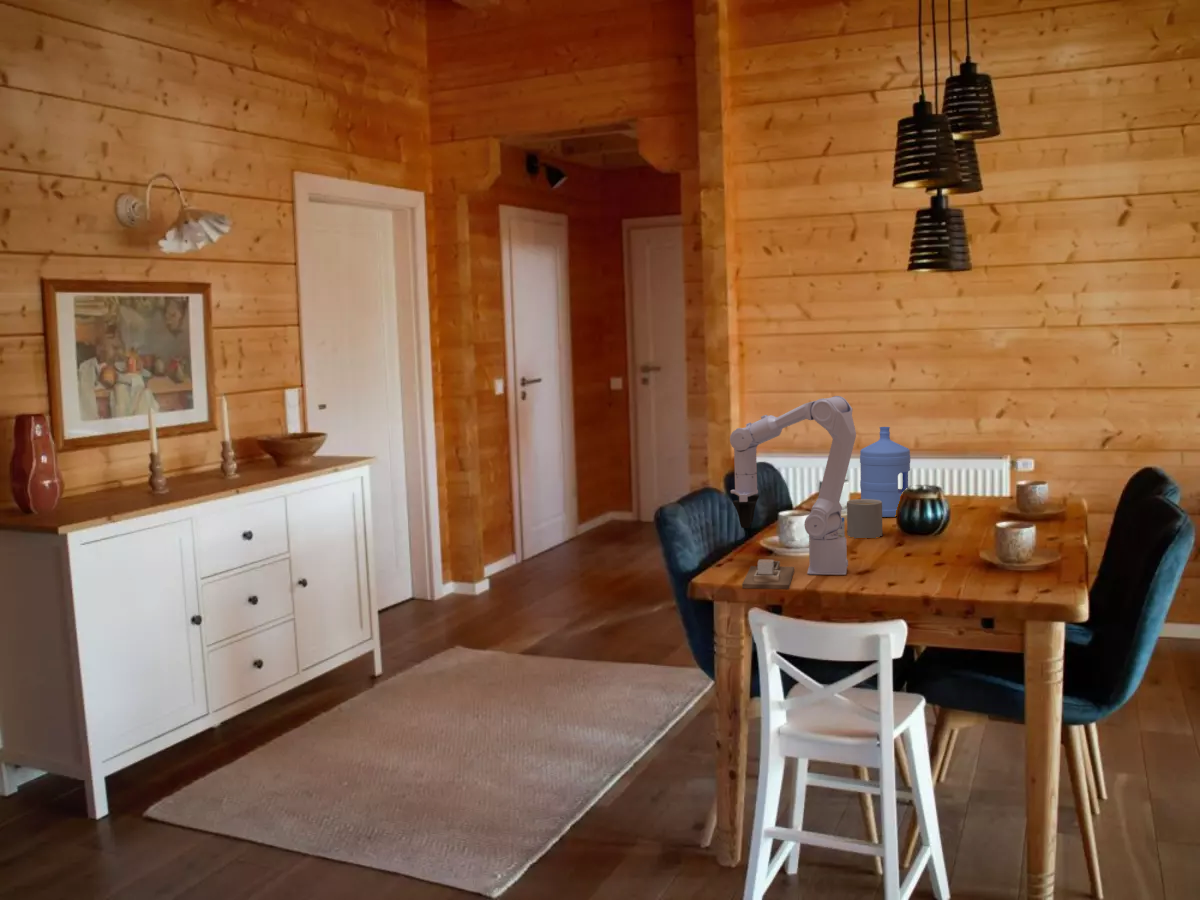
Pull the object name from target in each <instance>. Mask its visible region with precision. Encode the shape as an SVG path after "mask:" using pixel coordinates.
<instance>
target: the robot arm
mask: <svg viewBox="0 0 1200 900" xmlns="http://www.w3.org/2000/svg"><path fill="white" fill-rule="evenodd" d="M853 418H854V417H853V407H852V406H851V405H850V403H849V402H848V400H847V399H846V398H845V397H843V396H840V395H834V396H832V397H828V398H827V397H826V398H824V397H823V398H818V399H817V400H813V401H809V402H805V403H803V404H801V405H800V406H797V407H795V408H793V409H791V410H789V411H787V412H786V413H784V414H781V415H779V416H775V415H771V414H770V415H768V414H765V415H762V416H760V419H759V420H757V421H754V422H748V423H746V424H745V427H737V428H736V429H735V430H733V431H732V432H731V434H730V437H729V442H730V445H731V447H732V448H733V452H734V453H733V454H734V456H733V460H734V461H733V462H734V489H731V490H730V494H734V495H736V496H737V499H736V500H735V499H734V500H733V501H732V502H733V506H734V508H735V509H736V512H737V516H738V519H739V524H740V528H741V529H749V528H750V526H751V524H752V523H753V522H754V521H753V520H754V516H755V511H756V505H757V503H758V500H759V498H760V495H759V490H758V476H757V475H758V469H757V448H758V447H759V445H761V444H764V443H765V442H766V443H767V442H768V441H771V440H773V439H775V438H777V437H780V435H781V434H782V430H783V429H785V428H787V427H790V426H792V425H794V424H797V423H800V422H802V421H805V420H808V421H815V422H816V423H817V424H818V425H819V426H821V427H822V428H823V429H824V430H826V431H827V432H828V434H829V436H830V437H831V438H832V441H831V444H830V449H829V454H828V456H827V461H826V465H825V470H824V473H823V478H822V482H821V485H820V489H819V494H818V498H816V500H815V502H814V503H813V505H812V507H811V510H810V513H809V514H808V515H807V517H806V518H805V520H804V525H803V526H804V529H805V532H806V533H807V534H808V544H809V545H808V547H809V551H808V552H809V553H808V554H809V556H808V557H809V566H808V569H807V572H806V573H807V575H827V576H828V575H830V576H831V575H832V576H833V575H836V576H838V575H839V576H841V575H842V576H843V575H844V576H845V575H847V571H848V569H847V568H848V567H849V559H847V557H848V555H847V537H846V536H845V537H838V530H839V528H840V527H841V525H842V510H843V506H842V505H841V503H840V500H841V497H842V493H843V489H844V484H845V480H846V477H847V473H848V468H849V465H850V462H851V457H852V454H853V450H854V446H855V442H856V438H857V430H856V427H855V423H854V419H853Z"/></svg>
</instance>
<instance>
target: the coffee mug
mask: <svg viewBox="0 0 1200 900" xmlns="http://www.w3.org/2000/svg"><path fill="white" fill-rule="evenodd" d="M846 521H847V522H846V525H847V527H846V531H847V533H846V535H848V536H850V537H854V538H853V539H856V538H875V539H877V538H876V537H880V536H882V537H883V518H882V501H880V500H873V499H861V498H860V499H856V498H855V499H850V500H848V501H846ZM848 536H847V537H848ZM850 537H849V538H850ZM880 538H881V537H880Z"/></svg>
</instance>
